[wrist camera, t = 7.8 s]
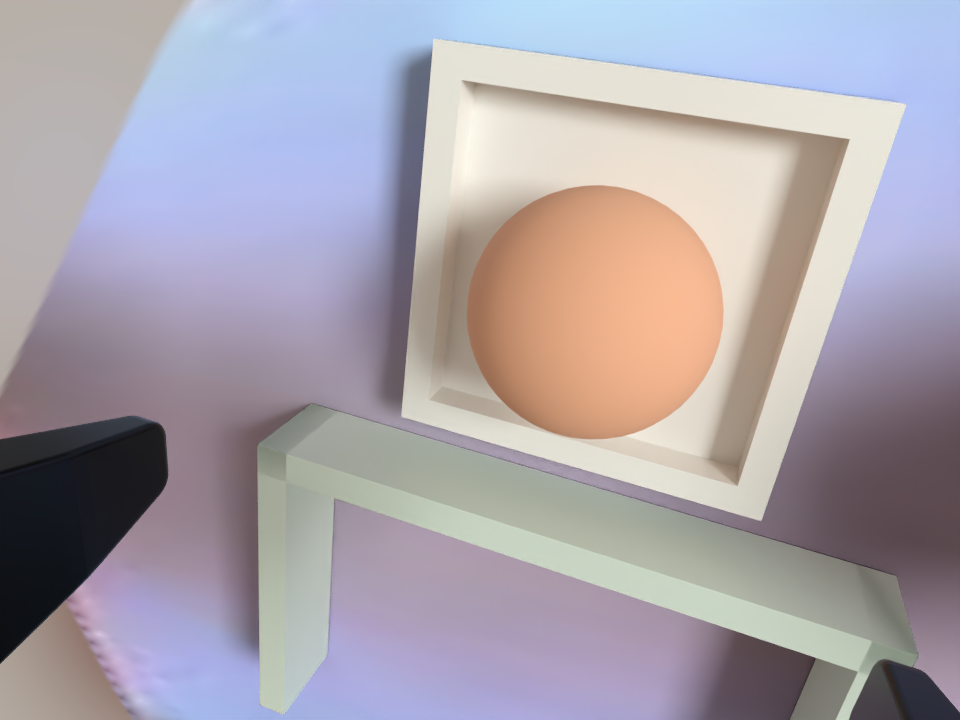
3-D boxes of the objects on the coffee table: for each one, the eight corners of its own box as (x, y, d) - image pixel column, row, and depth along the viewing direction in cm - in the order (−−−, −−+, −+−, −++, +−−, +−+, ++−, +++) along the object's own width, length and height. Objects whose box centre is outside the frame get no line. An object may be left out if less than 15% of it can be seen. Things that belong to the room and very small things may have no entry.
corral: (777, 833, 24) (779, 927, 21) (305, 646, 28) (260, 704, 26) (896, 576, 19) (918, 656, 17) (311, 403, 24) (257, 444, 21)
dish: (760, 491, 20) (761, 521, 18) (421, 396, 22) (401, 416, 21) (893, 101, 16) (906, 103, 14) (456, 41, 18) (433, 38, 17)
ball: (695, 404, 19) (678, 521, 14) (495, 354, 20) (416, 444, 15) (754, 192, 17) (758, 244, 12) (524, 151, 18) (441, 183, 13)
